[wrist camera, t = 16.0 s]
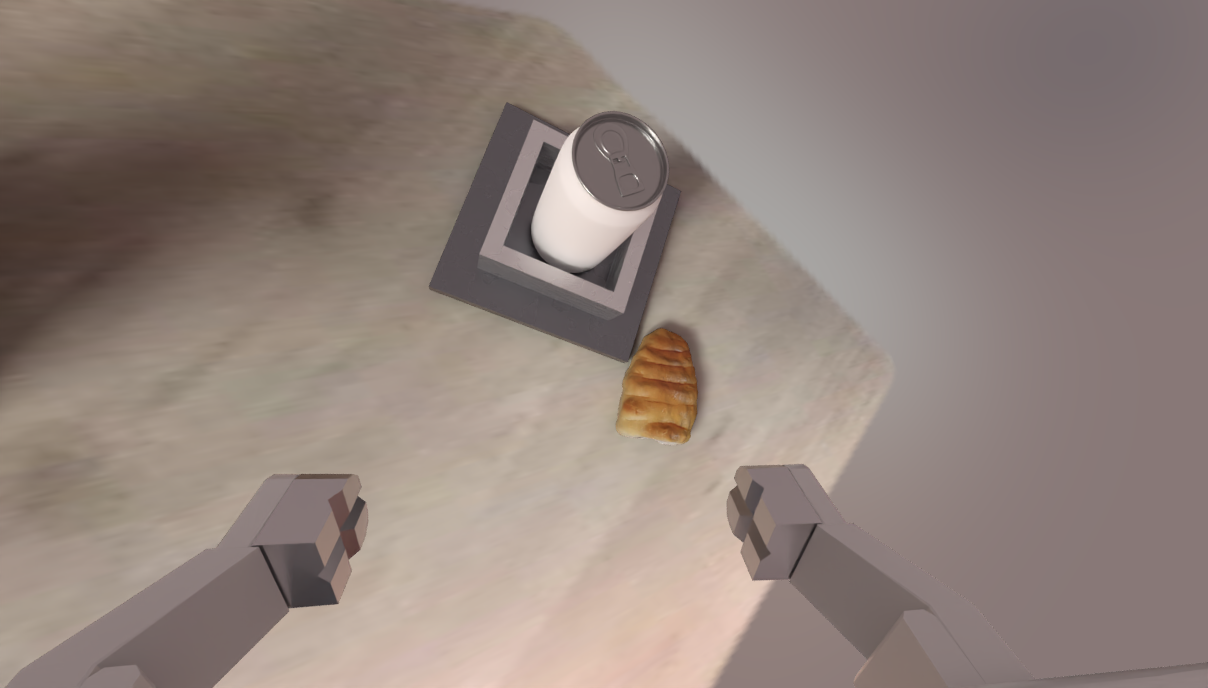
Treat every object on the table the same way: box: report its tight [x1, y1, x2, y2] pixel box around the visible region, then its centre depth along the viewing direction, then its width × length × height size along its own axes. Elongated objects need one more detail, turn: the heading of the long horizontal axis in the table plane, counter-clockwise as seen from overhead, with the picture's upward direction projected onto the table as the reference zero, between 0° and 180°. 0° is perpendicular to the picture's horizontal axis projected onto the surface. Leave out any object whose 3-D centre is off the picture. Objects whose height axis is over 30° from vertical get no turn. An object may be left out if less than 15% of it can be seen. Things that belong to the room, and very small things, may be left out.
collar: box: [429, 103, 681, 363], centre depth 34 cm, size 16×16×4 cm
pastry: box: [616, 328, 698, 445], centre depth 36 cm, size 9×7×4 cm
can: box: [531, 111, 669, 273], centre depth 30 cm, size 6×6×12 cm
